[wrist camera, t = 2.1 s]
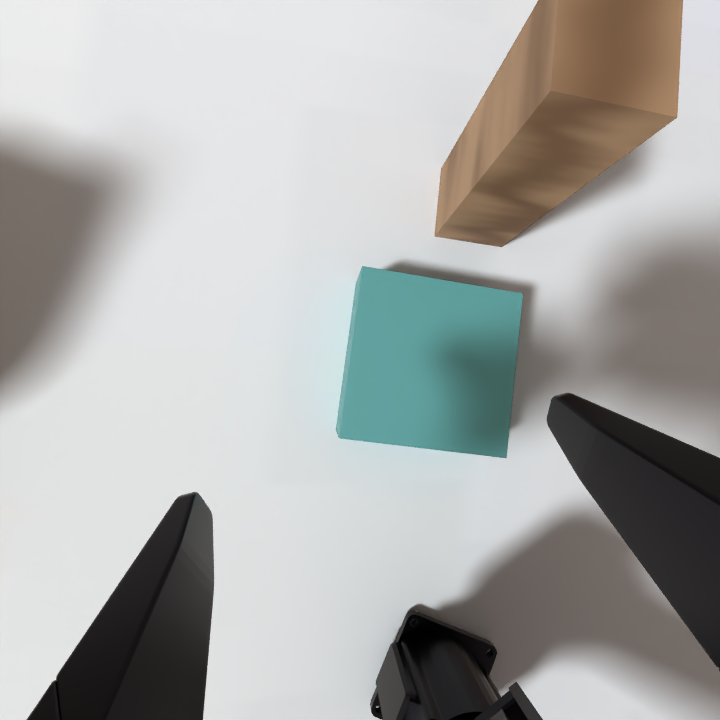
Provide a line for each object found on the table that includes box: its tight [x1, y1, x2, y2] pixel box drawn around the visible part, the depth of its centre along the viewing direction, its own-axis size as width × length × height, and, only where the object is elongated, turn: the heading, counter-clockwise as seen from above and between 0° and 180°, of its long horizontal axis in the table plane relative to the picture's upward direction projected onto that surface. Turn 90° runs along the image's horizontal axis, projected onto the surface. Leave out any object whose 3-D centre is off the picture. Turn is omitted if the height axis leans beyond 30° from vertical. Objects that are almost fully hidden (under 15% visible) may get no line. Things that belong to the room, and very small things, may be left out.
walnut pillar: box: [435, 0, 683, 247], centre depth 20 cm, size 5×5×13 cm
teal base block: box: [336, 266, 523, 458], centre depth 24 cm, size 10×10×4 cm
